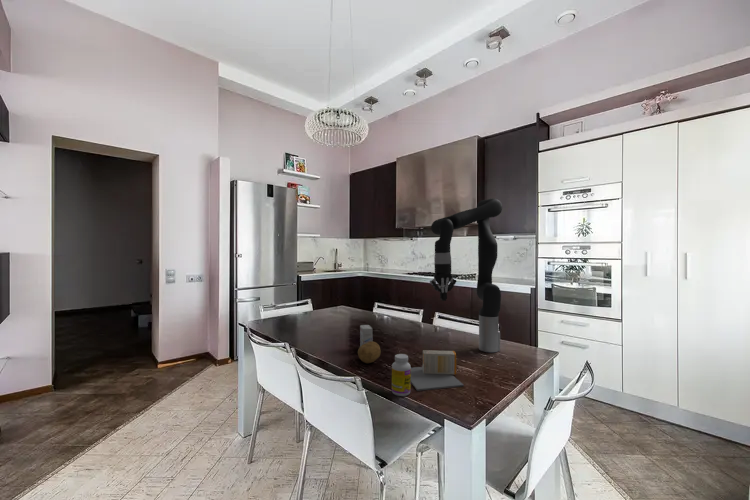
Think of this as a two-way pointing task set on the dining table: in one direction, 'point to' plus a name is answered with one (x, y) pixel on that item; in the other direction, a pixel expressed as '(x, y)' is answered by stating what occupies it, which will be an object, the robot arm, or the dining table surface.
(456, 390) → the dining table surface
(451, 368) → the supplement box
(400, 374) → the supplement bottle
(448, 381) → the rubber mat
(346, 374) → the dining table surface
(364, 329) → the ink box
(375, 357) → the potato
